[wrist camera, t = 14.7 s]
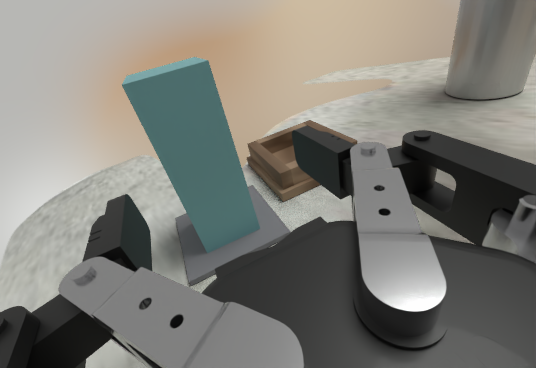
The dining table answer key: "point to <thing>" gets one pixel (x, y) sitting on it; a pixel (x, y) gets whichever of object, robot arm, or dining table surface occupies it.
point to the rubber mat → (205, 263)
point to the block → (195, 147)
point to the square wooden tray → (284, 161)
